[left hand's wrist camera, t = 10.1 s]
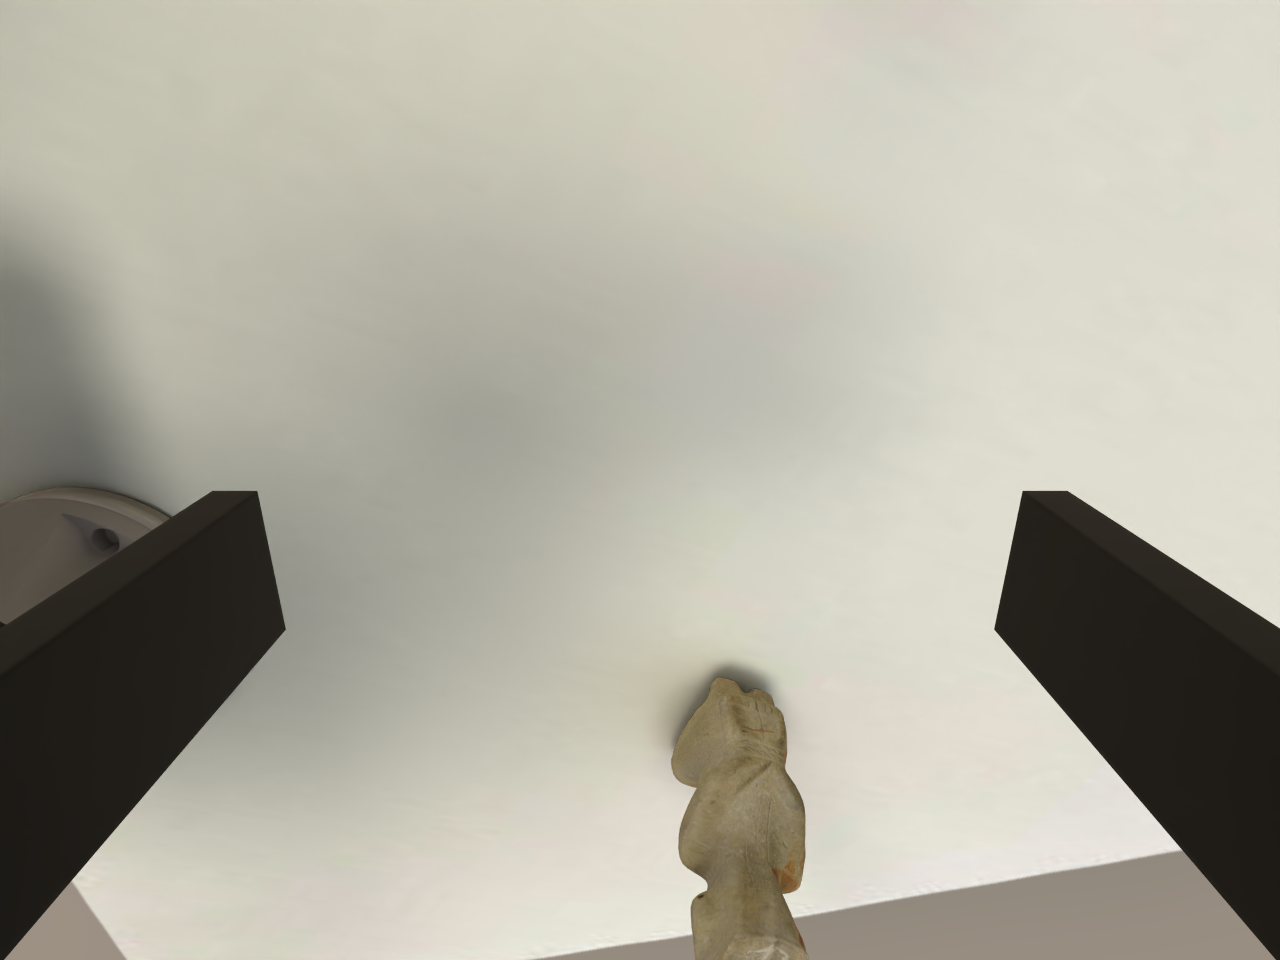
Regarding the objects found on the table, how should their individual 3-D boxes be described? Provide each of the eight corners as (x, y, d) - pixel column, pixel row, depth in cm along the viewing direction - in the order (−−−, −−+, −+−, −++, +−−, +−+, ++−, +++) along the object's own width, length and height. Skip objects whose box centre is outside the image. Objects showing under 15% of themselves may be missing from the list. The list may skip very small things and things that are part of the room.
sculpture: (652, 746, 41) (648, 1021, 27) (706, 651, 39) (733, 899, 25) (741, 779, 42) (783, 1065, 28) (800, 688, 39) (878, 950, 25)
